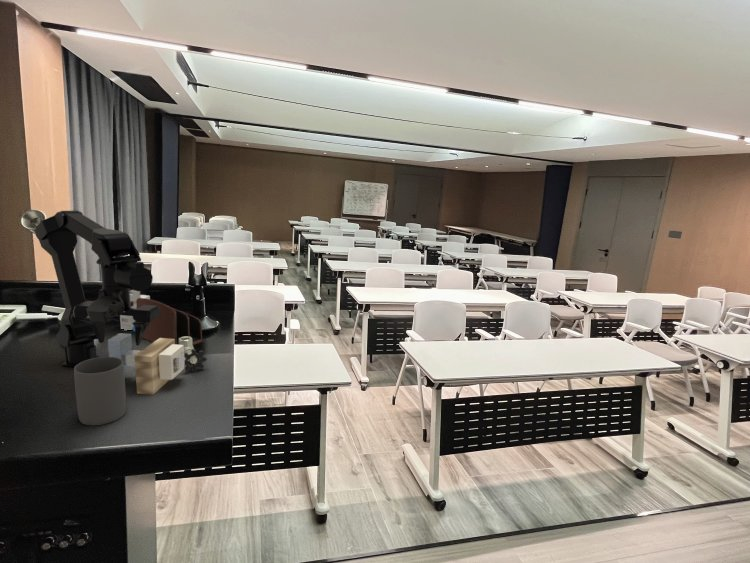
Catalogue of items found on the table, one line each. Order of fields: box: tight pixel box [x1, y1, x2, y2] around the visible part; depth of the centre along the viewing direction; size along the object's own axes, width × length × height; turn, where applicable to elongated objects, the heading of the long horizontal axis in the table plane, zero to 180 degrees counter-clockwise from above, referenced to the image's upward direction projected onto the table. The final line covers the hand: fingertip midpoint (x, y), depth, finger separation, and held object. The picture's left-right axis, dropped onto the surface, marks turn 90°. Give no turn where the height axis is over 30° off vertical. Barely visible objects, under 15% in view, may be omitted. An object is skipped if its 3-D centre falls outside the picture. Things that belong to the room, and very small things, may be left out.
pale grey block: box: [107, 332, 185, 374], centre depth 110 cm, size 17×5×9 cm, turn 89°
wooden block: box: [134, 338, 175, 396], centre depth 110 cm, size 4×12×10 cm, turn 179°
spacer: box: [159, 344, 185, 381], centre depth 110 cm, size 3×7×6 cm, turn 0°
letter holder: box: [136, 298, 203, 346], centre depth 139 cm, size 10×20×14 cm, turn 60°
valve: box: [179, 336, 208, 373], centre depth 123 cm, size 7×7×12 cm
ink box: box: [119, 290, 151, 332], centre depth 146 cm, size 9×5×15 cm, turn 81°
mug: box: [73, 356, 127, 426], centre depth 96 cm, size 14×9×12 cm
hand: (120, 343), depth 109 cm, fingers open, 9 cm apart
